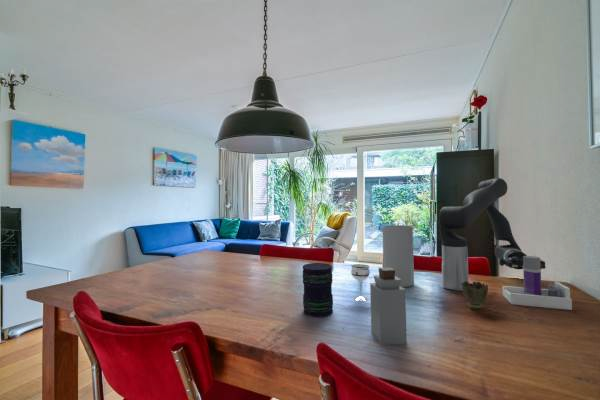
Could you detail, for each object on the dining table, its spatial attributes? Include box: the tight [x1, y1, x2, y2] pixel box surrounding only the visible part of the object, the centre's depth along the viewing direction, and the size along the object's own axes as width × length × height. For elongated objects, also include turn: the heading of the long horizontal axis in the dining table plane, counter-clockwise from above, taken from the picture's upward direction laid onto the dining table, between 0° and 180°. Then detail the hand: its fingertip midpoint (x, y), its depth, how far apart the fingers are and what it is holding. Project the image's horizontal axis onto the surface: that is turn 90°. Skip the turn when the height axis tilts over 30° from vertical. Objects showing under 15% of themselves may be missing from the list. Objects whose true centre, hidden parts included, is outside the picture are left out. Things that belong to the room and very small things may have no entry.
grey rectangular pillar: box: [381, 224, 415, 288], centre depth 123 cm, size 12×12×25 cm
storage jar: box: [302, 262, 334, 318], centre depth 92 cm, size 10×10×15 cm
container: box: [522, 255, 542, 296], centre depth 98 cm, size 5×5×15 cm
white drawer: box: [502, 281, 573, 311], centre depth 97 cm, size 16×10×6 cm, turn 68°
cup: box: [462, 281, 489, 310], centre depth 93 cm, size 8×7×8 cm
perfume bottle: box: [369, 267, 408, 346], centre depth 73 cm, size 7×7×18 cm
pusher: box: [547, 283, 562, 297], centre depth 95 cm, size 1×7×5 cm, turn 158°
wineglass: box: [350, 263, 371, 302], centre depth 104 cm, size 7×7×12 cm
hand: (525, 266), depth 106 cm, fingers open, 8 cm apart
